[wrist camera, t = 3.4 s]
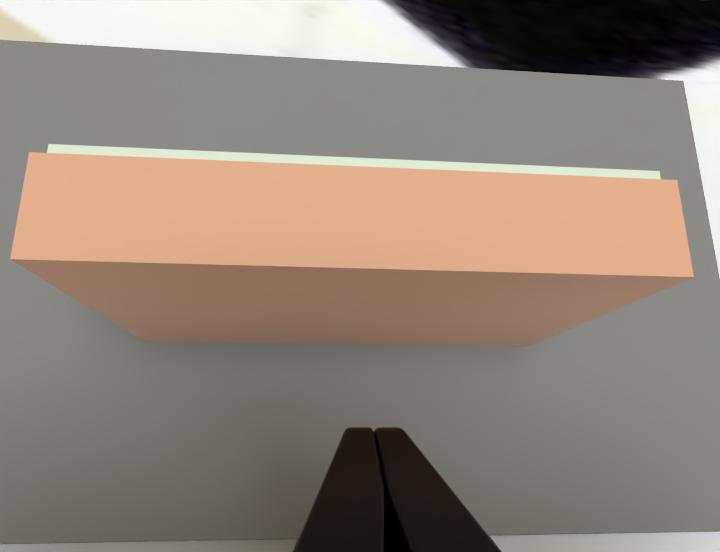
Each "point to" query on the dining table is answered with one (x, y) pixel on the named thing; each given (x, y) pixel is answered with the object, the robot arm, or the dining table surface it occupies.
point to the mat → (349, 361)
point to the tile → (344, 245)
